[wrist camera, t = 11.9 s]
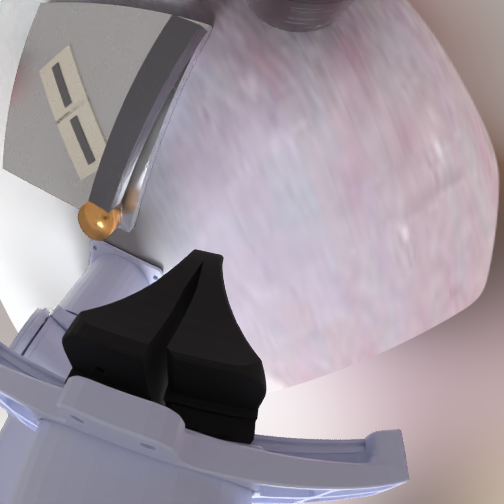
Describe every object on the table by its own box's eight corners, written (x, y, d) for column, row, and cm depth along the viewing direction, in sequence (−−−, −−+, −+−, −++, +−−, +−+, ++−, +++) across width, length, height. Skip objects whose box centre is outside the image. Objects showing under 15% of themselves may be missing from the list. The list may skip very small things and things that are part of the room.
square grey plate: (134, 226, 24) (122, 240, 22) (9, 164, 21) (-6, 172, 19) (212, 28, 15) (204, 20, 13) (48, 4, 12) (32, 1, 10)
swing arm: (116, 236, 21) (105, 247, 20) (86, 218, 21) (75, 228, 19) (216, 34, 13) (209, 28, 12) (174, 17, 12) (164, 11, 11)
